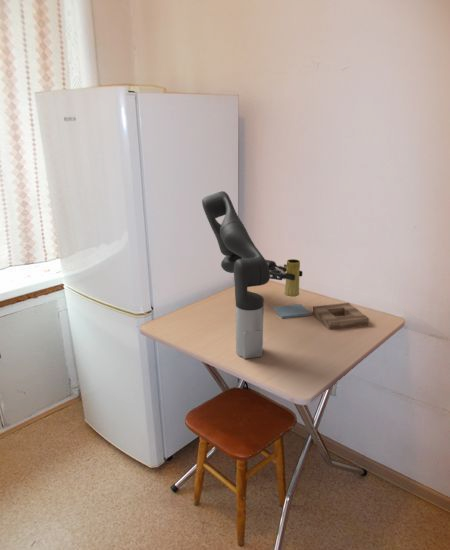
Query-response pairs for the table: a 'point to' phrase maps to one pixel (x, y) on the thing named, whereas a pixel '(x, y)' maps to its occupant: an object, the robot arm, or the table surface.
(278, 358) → the table surface
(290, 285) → the vase
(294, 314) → the slate mat
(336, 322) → the socket stand
